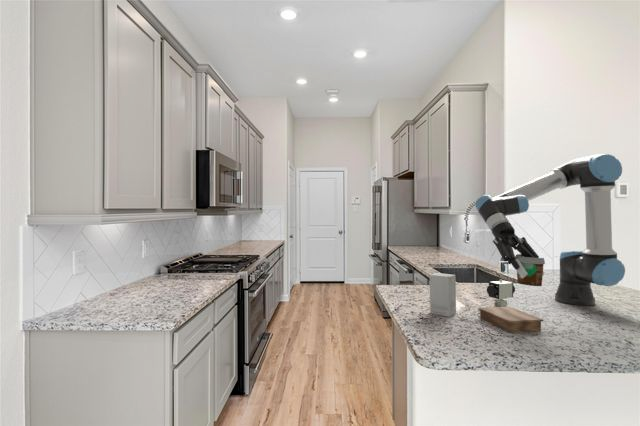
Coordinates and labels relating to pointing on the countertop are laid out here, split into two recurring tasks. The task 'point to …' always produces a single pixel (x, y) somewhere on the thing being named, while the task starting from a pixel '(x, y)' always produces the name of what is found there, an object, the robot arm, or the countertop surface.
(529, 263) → the food container
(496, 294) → the pneumatic valve
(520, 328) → the stand
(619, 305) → the countertop surface
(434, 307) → the skincare box
